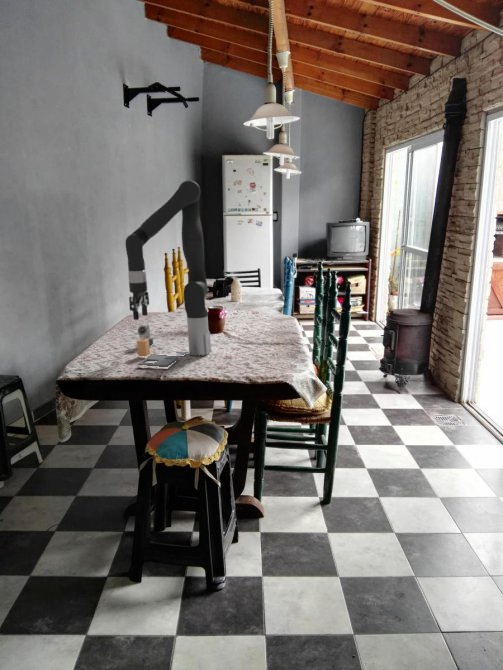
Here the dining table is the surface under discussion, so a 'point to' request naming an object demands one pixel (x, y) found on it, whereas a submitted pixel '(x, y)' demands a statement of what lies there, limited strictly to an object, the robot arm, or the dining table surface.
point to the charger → (143, 347)
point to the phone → (181, 353)
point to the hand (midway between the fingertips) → (140, 317)
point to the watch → (145, 333)
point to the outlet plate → (159, 360)
